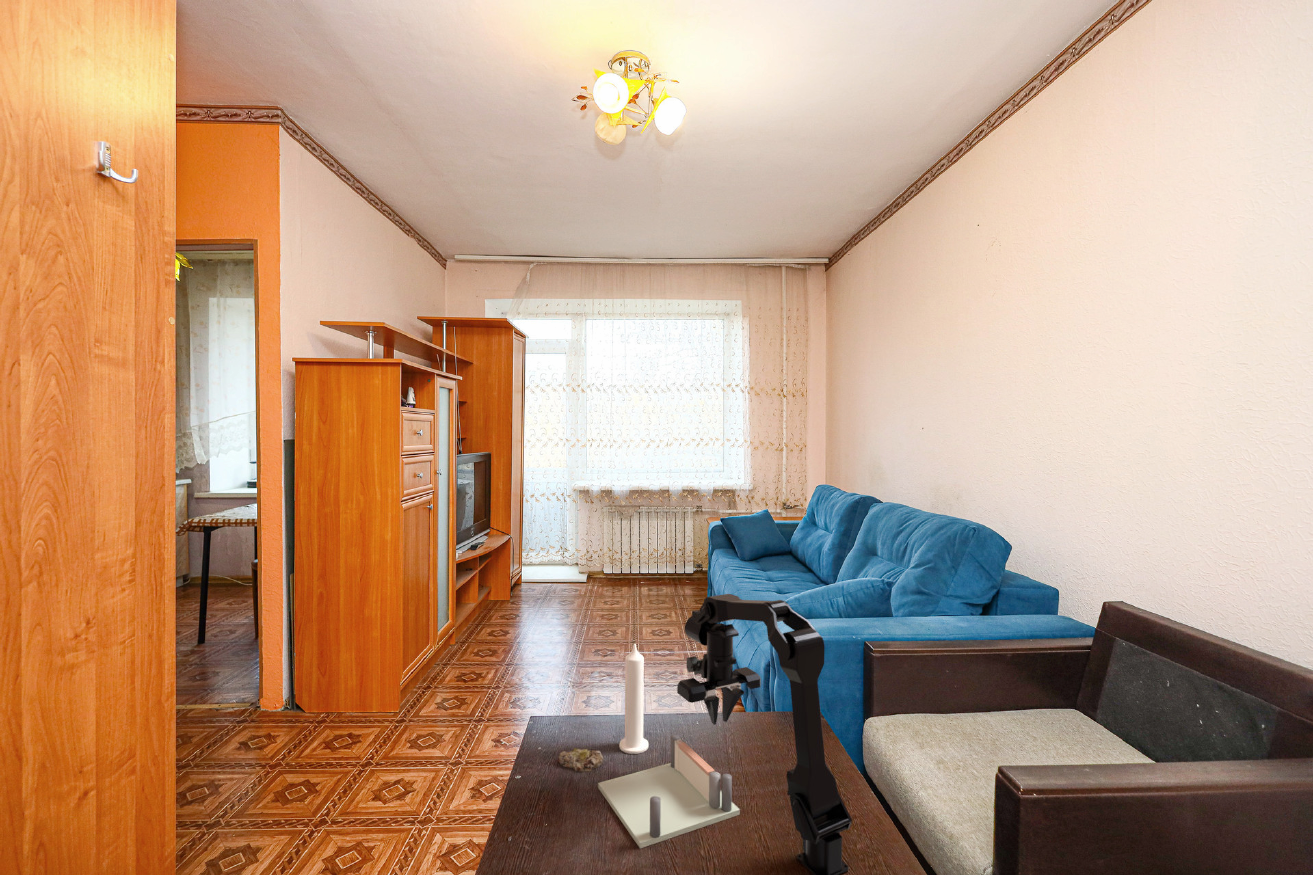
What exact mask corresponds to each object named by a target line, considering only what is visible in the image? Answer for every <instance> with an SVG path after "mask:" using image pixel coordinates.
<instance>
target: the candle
mask: <svg viewBox="0 0 1313 875" xmlns="http://www.w3.org/2000/svg"><path fill="white" fill-rule="evenodd" d="M624 658H625V659H624V660H625V662H624V663H625V665H624V666H625V667H624V738H622V739H621V740H620V741H619V750H620V751H621V752H623V753H625V754H630V755H637V754H641V753H644V752H646V751H647V750H648V749H649V741H648V740H647V739H646V738H644V701H645V700H644V698H645V697H644V695H645V694H644V693H645V692H644V684H645V683H644V682H645V680H644V679H645V678H644V676H645V674H644V673H645V672H644V667H645V663H644V662H645V657H644V656H643V654H642V653H640V652H639V651H638V648H637V644H636V643H633V645H632V650H631V652H630V653H628V654H627V655H626V656H625V657H624Z"/></svg>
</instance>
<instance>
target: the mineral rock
mask: <svg viewBox="0 0 1313 875" xmlns="http://www.w3.org/2000/svg"><path fill="white" fill-rule="evenodd" d="M557 762H558V763H560V766H563V767H564V768H570V769H573V770H574V771H575V772H583V773H584V772H591V771H593V770H594V769H597V768H600V766H601V765H603V762H604V756H603V755H602V752H601V751H600V750H592V749H591V750H589V749H588V748H583V749H582V748H581V749H580V748H576V747H575V748H573V750H570V751H565V750H563V751H560V752H559V754H558V759H557Z"/></svg>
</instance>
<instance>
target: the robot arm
mask: <svg viewBox="0 0 1313 875" xmlns="http://www.w3.org/2000/svg"><path fill="white" fill-rule="evenodd" d="M734 620H737V621H738V620H739V621H752V622H763V623H764V625H765V626H766V631H767V639H768V642H769V644H770V645H771V646H772V647H773V649H774V650H775V652H776V653H777V656H778V662H779V665H780V666H779V667H780V669H782V671H783V673H784V674H785V676H786V677H787V678H788V680H789V687H790V697H791V708H792V718H793V719H792V720H793V729H794V744H795V753H796V765H795V767H794V768H792V769H789V770H787V771H786V780H787V781H786V782H787V796H789V801H790V806H791V812H792V816H793V821H794V826H795V830H796V831H797V832H798V833H800V838H801V839H802V851H803V852H801V853H799V854H797V855H796V859H797V861H799V862H800V863H801V865H803V866H804V867H805V868H806V869H807V870H808V871H809V872H810V874H812V875H840V874H842V873H847V871H849V869H850V867H849V865H848V864H847V863H845V861H843V836H842V835H841V834H840V833H841V832H844V831H846V830H850V828H851V826H852V822H853V819H852V817H851V815H850V813H849V811H848V809H847V807H846V805H845V803H844V801H843V799H842V797H841V795H840V793H839V790H838V783H837V779H836V777H835V775H834V774H833V773H832V771H831V769H830V768H829V767H828V764H827V763H826V762H827V761H826V755H825V744H824V734H823V723H822V722H823V721H822V714H821V713H822V712H821V704H820V694H819V684H818V683H819V682H818V681H819V677H820V675H821V673H822V670H823V667H824V666H825V653H826V652H825V651H826V650H825V641H824V638H823V636H822V635H820V633H819V632H818V631H817V630H816V628H815V627H814V626H813V625H812V623H811V622H810V621H809V620H808V619H807V618H806V617H803V616H802V615H800V614H799V613H797V612H796V611H795V610H793V609H792V607H791V606H790V604H788V602H787V601H785V600H782V599H778V600H777V599H776V600H759V599H758V600H754V599H753V600H751V599H750V600H749V599H742V598H740V597H739V596H738V595H736V594H731V593H724V594H719V595H718V594H717V595H712V596H706V597H705V598H704V599H703V603H702V605H701V607H700V609H696V610H692V611H691V616H690V617H689V618H687V620H686V621H685V625H684V633H685V635H686V636H687V637H688V638H689V639H691V640H693V641H695V642H697V643H698V644H700V645H703V646H704V647H705V646H706V653H704V654H703V656H702V658H699V659H698V657H697V656H688V657H686V669H687V672H688V673H694V675H695V676H697V675H700V678H702V679H706V680H705V681H702V682H700V681H698V680H697V679H695V677H691V678H687V679H682V680H679V682H677V686H676V687H677V688H676V690H677V691H676V692H677V694H678V695H679V696H681V697H682V698H683V699H684V700H686V702H688V703H692V704H693V703H698V702H702V701H703V702H704V704H705V706H706V710H707V712H708V715H709V719H710V722H711V724H713V726H715V725H717V721H718V716H719V715H718V713H719V704H720V697H718V696H717V695H716V690H719V689H720V691H721V693H722V709H721V710H722V712H721V714H722V715H721V716H722V721H723V722H724V723H726V722H728V721H729V719H730V717H731V714H732V713H733V710H734V708H735V707H736V704H737V703H738V701H739V700H740V698H741V697H742V696H743V695H745V691H744V690H743V689H742V685H741V684H745V686H746V687H747V688H748V689H750V690H755V689H759V688H761V683H762V682H761V681H762V678H761V677H760V675H759V673H757V672H756V671H754V670H753V669H751V668H750V667H747V666H746V667H741V668H740V667H739V668H736V669H733V667H734V665H736V664H737V659H736V658H735V657H733V656H734V645H733V644H734V637H738V636H739V631H738V630H737V629H736V628H735V627H734V625H733V624H732V623H730V624H725V623H724V622H728V621H729V622H730V621H734ZM779 622H783V624H784V625H786V626H787V627H788V628H790V629H792V630H791V631H786V632H782V631H781V629H780V628H779V627H778V623H779Z"/></svg>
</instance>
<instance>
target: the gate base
mask: <svg viewBox="0 0 1313 875" xmlns="http://www.w3.org/2000/svg"><path fill="white" fill-rule="evenodd" d="M680 739H681V738H680V735H678V734H672V735H671V736H670V763H669V762H668V763H666V764H665V763H664V764H661V765H658V766H654V767H652V768H651V767H650V768H648V769H643V770H641V771H637V772H633V773H630V774H626V775H622V776H619V777H615V778H611V779H609V780H605V781H604V780H603V781H601V782H598V783H597V788H598V791H600V793H601V794H602V796H603V797H604V798H605V800H606V801H607V803H608V805H610V807H611V808H612V811H613V812H614V813H615V814H616V816H617V817H618V818H619V819H618V820H619V821H620V822H621V823H622V824H623V826H624V827H625V829H626V831H628V832H627V833H629V835H630V836H631V838H632V839H633V840H634V842H635V843H636V845H637V847H638V848H639V849H643V848H645V847H648V846H653V845H654V844H657V843H660V842H663V841H666V840H670V839H672V838H675V837H678V836H680V835H683V834H687V833H689V832H693V831H696V830H698V829H701V828H704V827H708V826H710V825H713V824H714V825H715V824H716V823H719V822H721V821H725V820H728V819H730V818H733V817H736V816H739V815H741V809H740V808H739V807H738V806H737V805H736V804H735V803H734V802H733V801H732V800H733V799H732V797H733V796H732V795H733V794H732V792H733V791H732V790H733V789H732V788H733V782H732V781H733V776H732V775H731V774H729V773H723V774H722V775H721V790H720V807H718V808H712V807H710V805H709V802H708V801H707V800H706V799H705V798H704V796H703V795H702V794H701V793H700V792H699V791H698V790H697V789H696V788H695V787H694V786H693V785H692V784H691V783H690V782H689V781H688V780H687V779H686V778H685V777H684V776H683V775H682V774H681V773H680V772H679V771H677V770H676V769H675V741H676V740H680Z"/></svg>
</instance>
